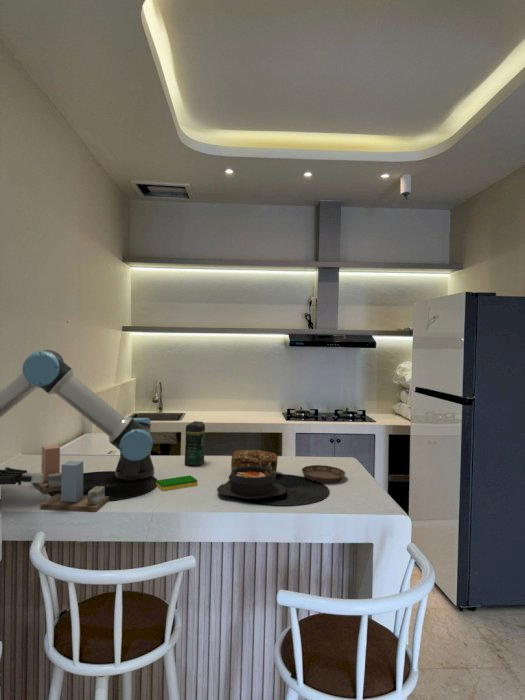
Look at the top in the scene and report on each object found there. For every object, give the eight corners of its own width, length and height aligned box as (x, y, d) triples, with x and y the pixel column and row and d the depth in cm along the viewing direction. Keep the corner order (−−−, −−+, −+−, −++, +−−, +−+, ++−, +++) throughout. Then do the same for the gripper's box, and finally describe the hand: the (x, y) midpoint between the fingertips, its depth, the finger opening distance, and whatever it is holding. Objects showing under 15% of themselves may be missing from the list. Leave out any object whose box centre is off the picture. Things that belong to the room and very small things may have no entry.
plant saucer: (341, 472, 196) (342, 465, 195) (348, 486, 178) (348, 478, 178) (300, 471, 196) (300, 464, 196) (302, 484, 178) (302, 476, 178)
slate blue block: (61, 501, 149) (61, 464, 149) (68, 496, 154) (69, 460, 154) (75, 502, 149) (76, 465, 148) (83, 496, 154) (83, 461, 153)
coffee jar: (199, 467, 198) (200, 424, 197) (182, 465, 199) (183, 423, 198) (206, 461, 207) (207, 420, 207) (189, 460, 209) (190, 419, 208)
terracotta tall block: (41, 478, 172) (41, 446, 172) (55, 475, 175) (55, 444, 175) (45, 481, 168) (45, 449, 168) (59, 479, 172) (59, 447, 171)
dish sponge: (156, 486, 173) (156, 480, 173) (190, 481, 180) (190, 475, 180) (162, 492, 167) (162, 485, 166) (197, 486, 174) (197, 480, 174)
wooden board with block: (40, 508, 147) (40, 491, 147) (56, 497, 157) (56, 482, 157) (96, 511, 146) (96, 494, 146) (109, 500, 156) (109, 484, 155)
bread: (230, 477, 185) (230, 453, 184) (234, 470, 195) (234, 446, 195) (276, 479, 183) (277, 455, 183) (277, 472, 194) (278, 448, 194)
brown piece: (30, 480, 175) (30, 466, 175) (57, 475, 181) (57, 462, 181) (44, 493, 161) (44, 478, 161) (73, 488, 167) (73, 473, 167)
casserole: (282, 486, 175) (283, 464, 175) (289, 503, 157) (290, 479, 157) (217, 486, 173) (217, 464, 173) (216, 504, 155) (217, 479, 154)
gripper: (-13, 480, 160) (52, 483, 159) (-40, 492, 147) (30, 496, 146) (-13, 458, 160) (52, 461, 158) (-40, 469, 147) (31, 472, 145)
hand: (42, 478), depth 152 cm, fingers closed
